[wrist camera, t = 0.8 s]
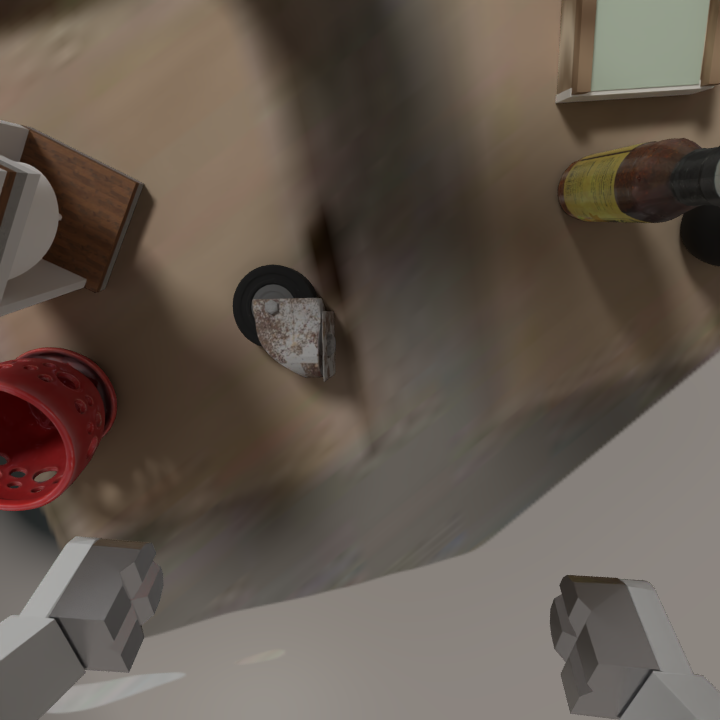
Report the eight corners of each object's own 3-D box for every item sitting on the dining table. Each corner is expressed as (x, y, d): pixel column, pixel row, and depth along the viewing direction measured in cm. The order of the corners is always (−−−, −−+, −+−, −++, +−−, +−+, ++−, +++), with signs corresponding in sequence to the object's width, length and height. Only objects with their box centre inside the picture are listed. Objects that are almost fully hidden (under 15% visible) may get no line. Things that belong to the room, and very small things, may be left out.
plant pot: (-13, 344, 52) (-110, 384, 41) (115, 335, 52) (54, 373, 41) (20, 456, 56) (-59, 521, 45) (139, 447, 56) (90, 509, 45)
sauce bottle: (572, 232, 52) (710, 251, 33) (543, 180, 50) (671, 167, 31) (628, 194, 51) (804, 190, 32) (601, 139, 49) (769, 100, 30)
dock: (564, -78, 43) (587, -106, 39) (712, -86, 44) (751, -114, 40) (555, 103, 48) (575, 94, 44) (690, 94, 48) (723, 84, 44)
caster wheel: (246, 269, 54) (338, 267, 52) (250, 373, 55) (340, 373, 54) (222, 263, 47) (327, 260, 46) (227, 382, 48) (329, 382, 47)
